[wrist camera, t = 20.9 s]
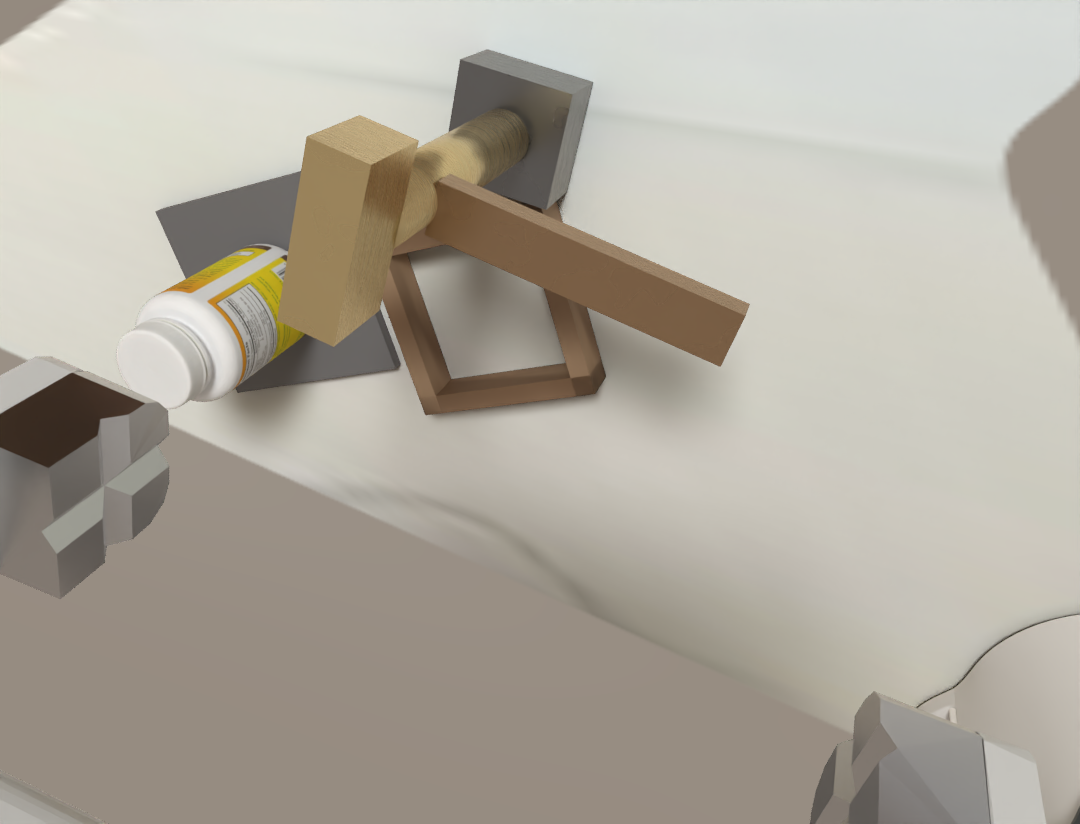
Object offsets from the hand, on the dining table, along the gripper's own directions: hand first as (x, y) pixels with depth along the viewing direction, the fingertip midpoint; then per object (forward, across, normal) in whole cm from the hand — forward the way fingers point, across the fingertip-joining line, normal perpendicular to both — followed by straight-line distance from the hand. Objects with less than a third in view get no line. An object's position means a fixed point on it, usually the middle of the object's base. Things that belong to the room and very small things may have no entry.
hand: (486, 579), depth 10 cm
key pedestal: (+33, +10, +5) cm, 35 cm away
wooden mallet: (+30, +5, +5) cm, 31 cm away
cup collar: (+33, +10, +14) cm, 37 cm away
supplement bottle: (+33, +22, +17) cm, 43 cm away
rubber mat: (+33, +22, +18) cm, 43 cm away
